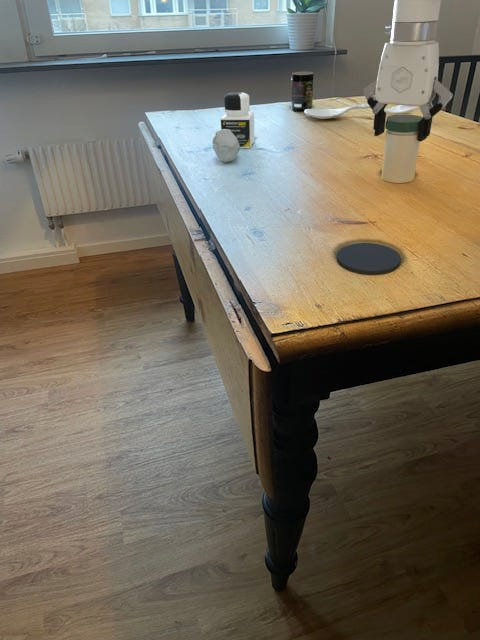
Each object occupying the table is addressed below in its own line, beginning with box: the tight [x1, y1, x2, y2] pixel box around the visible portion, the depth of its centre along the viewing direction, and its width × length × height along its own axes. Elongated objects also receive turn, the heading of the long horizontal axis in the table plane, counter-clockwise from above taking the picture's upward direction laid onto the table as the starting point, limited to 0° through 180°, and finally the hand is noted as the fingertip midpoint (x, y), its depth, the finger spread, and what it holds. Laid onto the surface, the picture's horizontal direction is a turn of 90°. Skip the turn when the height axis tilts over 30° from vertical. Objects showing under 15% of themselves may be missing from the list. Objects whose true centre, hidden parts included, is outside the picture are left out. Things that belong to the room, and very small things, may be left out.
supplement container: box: [290, 71, 315, 113], centre depth 155 cm, size 7×7×10 cm
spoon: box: [304, 103, 421, 120], centre depth 145 cm, size 9×32×4 cm, turn 89°
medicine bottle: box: [220, 91, 255, 149], centre depth 123 cm, size 7×7×12 cm
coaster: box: [336, 242, 402, 276], centre depth 72 cm, size 9×9×1 cm
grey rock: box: [212, 128, 240, 163], centre depth 113 cm, size 6×7×7 cm
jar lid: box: [385, 114, 423, 133], centre depth 95 cm, size 7×7×2 cm
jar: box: [380, 129, 421, 184], centre depth 98 cm, size 6×6×10 cm
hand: (400, 136), depth 97 cm, fingers open, 8 cm apart
